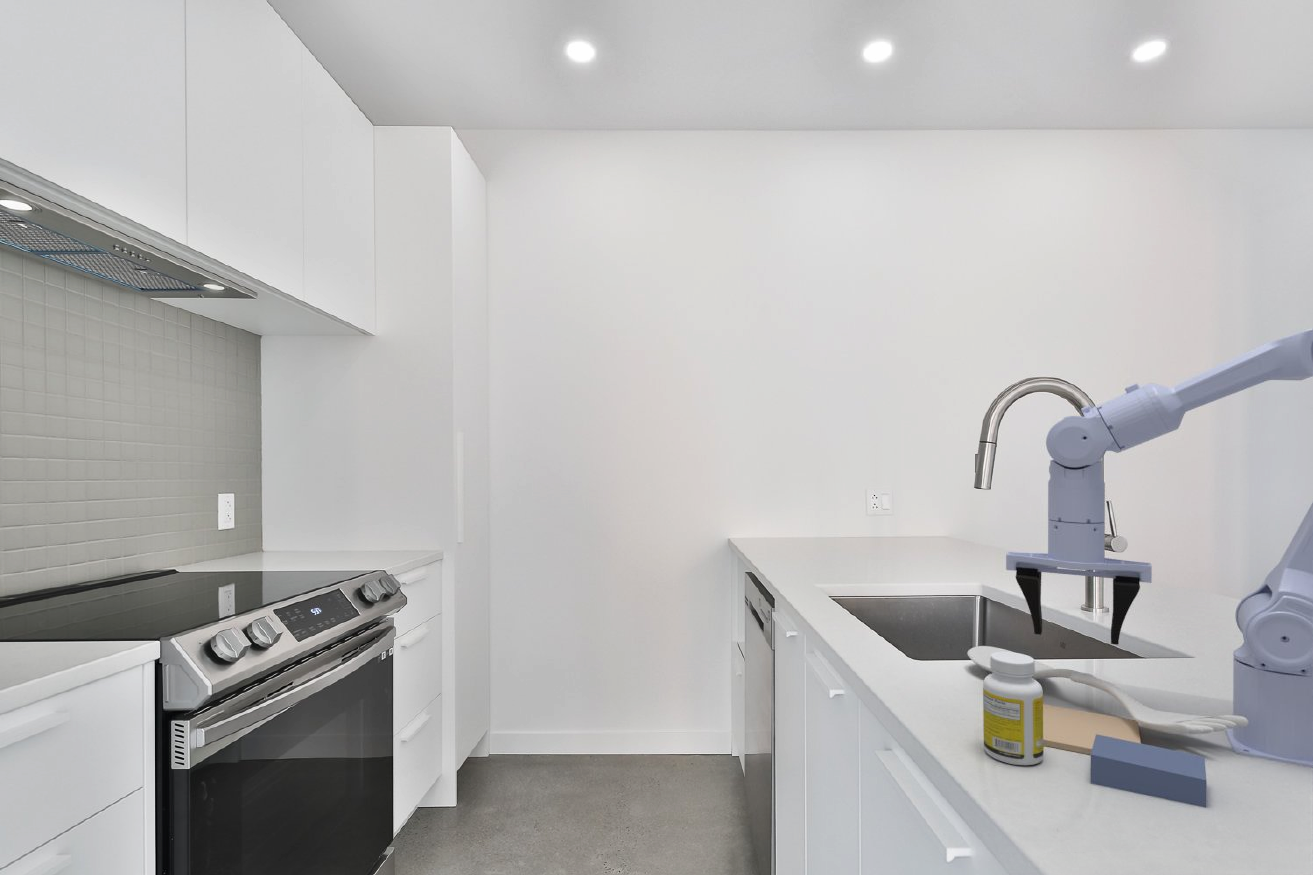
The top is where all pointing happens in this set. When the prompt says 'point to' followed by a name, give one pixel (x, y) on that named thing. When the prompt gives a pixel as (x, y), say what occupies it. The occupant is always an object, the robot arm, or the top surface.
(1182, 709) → the top surface
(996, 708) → the supplement bottle
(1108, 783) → the card box
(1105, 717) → the flat tan board
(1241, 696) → the robot arm
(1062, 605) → the top surface
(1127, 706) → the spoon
